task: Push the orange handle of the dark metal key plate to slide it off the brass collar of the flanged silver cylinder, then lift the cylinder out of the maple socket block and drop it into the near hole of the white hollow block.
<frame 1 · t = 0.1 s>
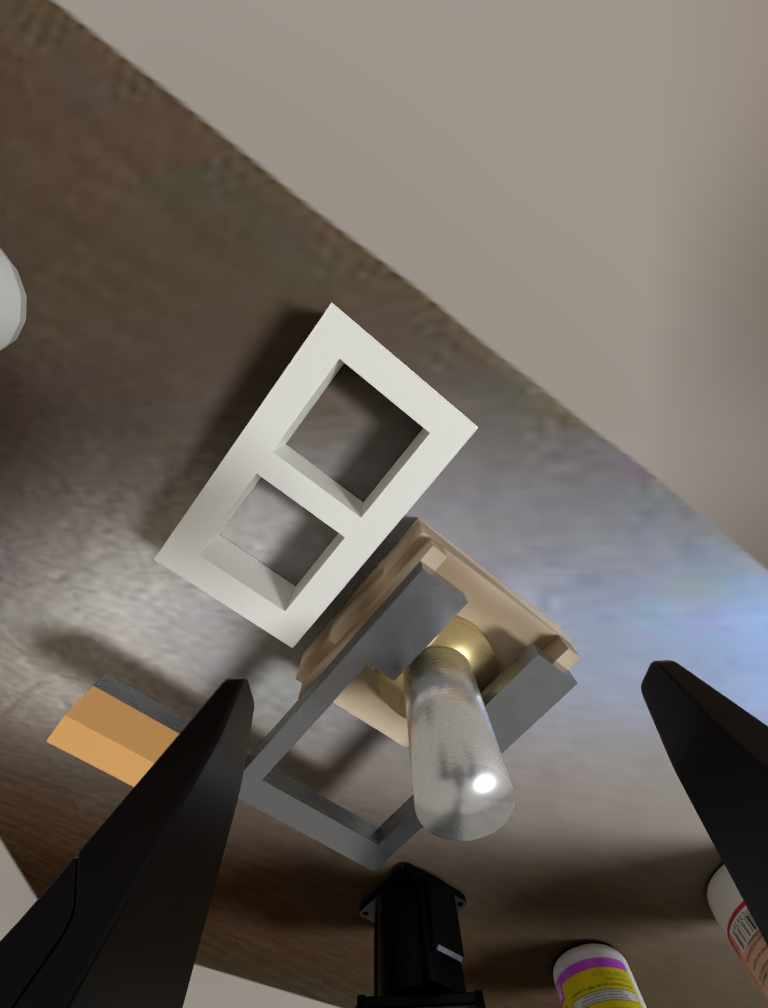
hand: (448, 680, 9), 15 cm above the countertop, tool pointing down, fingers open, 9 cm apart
socket block: (429, 638, 26), on the countertop
flanged silver cylinder: (429, 638, 26), resting in socket block
fruit juice: (756, 879, 34), on the countertop
white hollow block: (318, 483, 23), on the countertop
supplement bottle: (585, 960, 36), on the countertop
key plate: (326, 703, 21), point 5 cm above the countertop, slide at 0.0 cm
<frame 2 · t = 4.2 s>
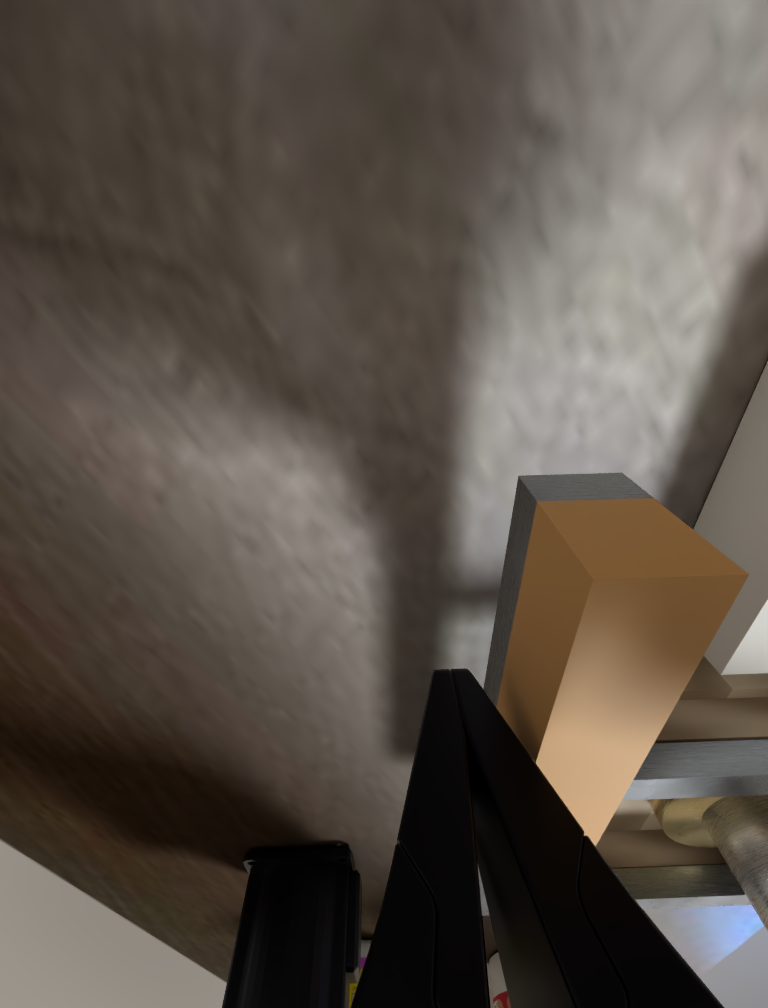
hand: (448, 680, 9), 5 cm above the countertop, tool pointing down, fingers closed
socket block: (692, 720, 19), on the countertop
flanged silver cylinder: (692, 719, 19), resting in socket block
fruit juice: (535, 951, 37), on the countertop
supplement bottle: (363, 945, 35), on the countertop
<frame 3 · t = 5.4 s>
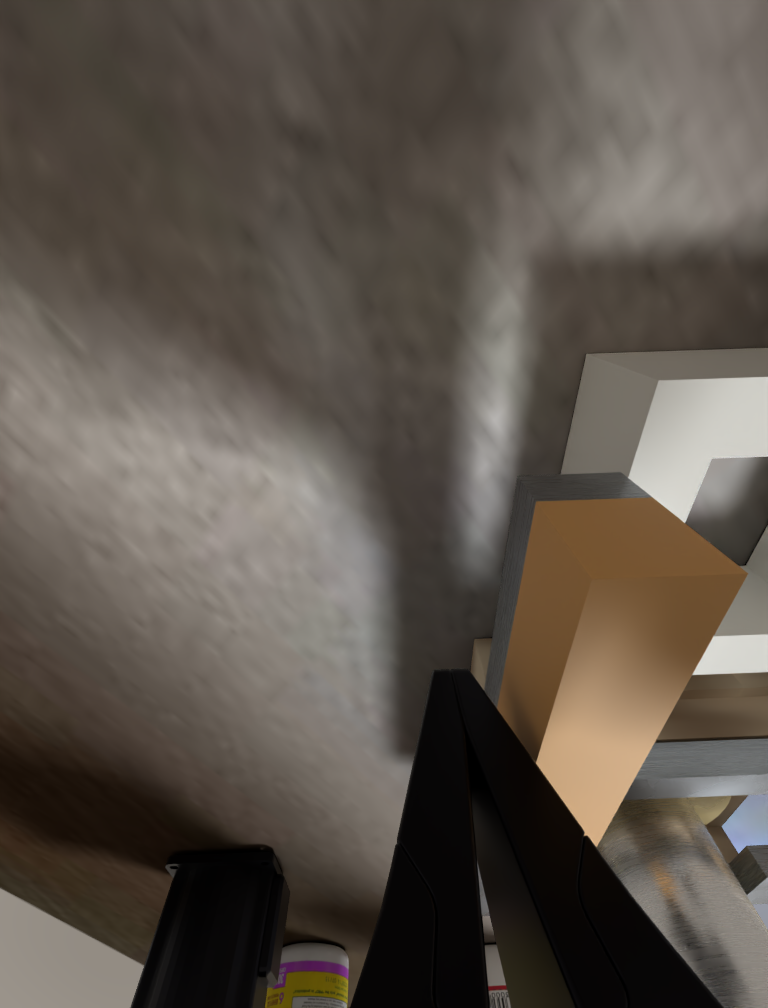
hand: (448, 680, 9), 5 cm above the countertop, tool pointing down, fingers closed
socket block: (591, 723, 19), on the countertop
flanged silver cylinder: (591, 722, 19), resting in socket block
fruit juice: (487, 954, 37), on the countertop
supplement bottle: (311, 948, 35), on the countertop
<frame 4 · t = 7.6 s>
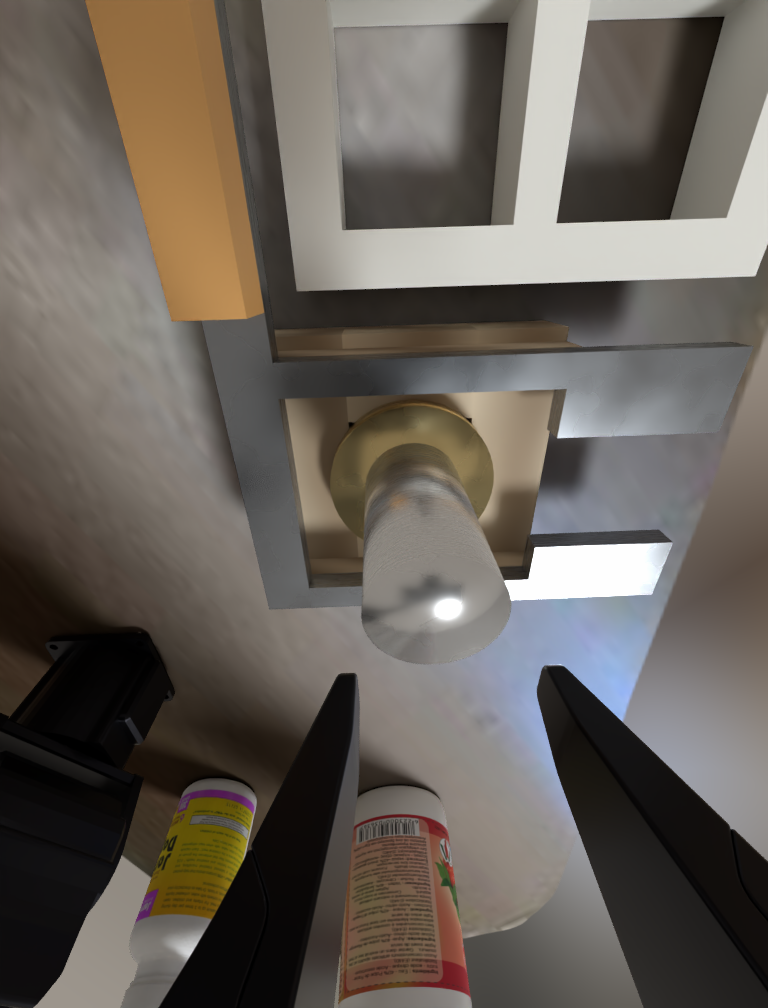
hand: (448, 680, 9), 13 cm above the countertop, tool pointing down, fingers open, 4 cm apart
socket block: (405, 454, 20), on the countertop
flanged silver cylinder: (405, 453, 20), resting in socket block
fruit juice: (395, 804, 39), on the countertop
white hollow block: (517, 137, 14), on the countertop
supplement bottle: (222, 791, 37), on the countertop
key plate: (485, 382, 13), point 5 cm above the countertop, slide at 6.2 cm
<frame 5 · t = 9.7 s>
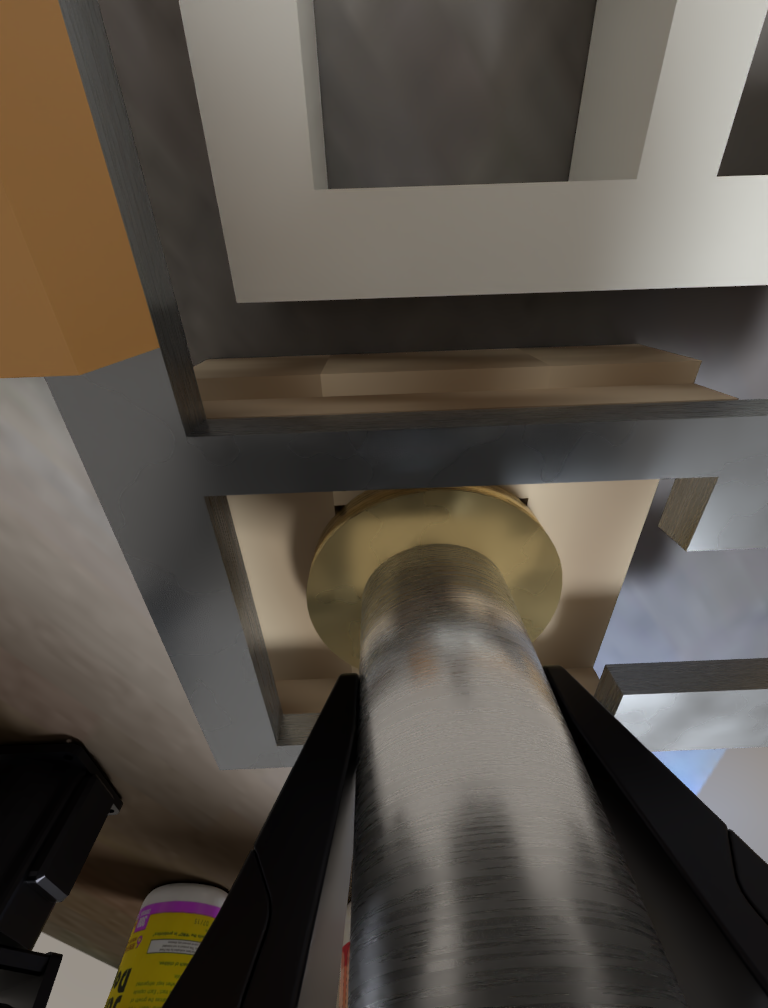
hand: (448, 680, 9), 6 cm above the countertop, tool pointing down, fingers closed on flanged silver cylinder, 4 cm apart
socket block: (420, 530, 14), on the countertop
flanged silver cylinder: (420, 529, 14), resting in socket block, touching gripper
fruit juice: (400, 902, 33), on the countertop
white hollow block: (625, 33, 8), on the countertop
supplement bottle: (193, 892, 31), on the countertop
key plate: (582, 472, 7), point 5 cm above the countertop, slide at 6.2 cm
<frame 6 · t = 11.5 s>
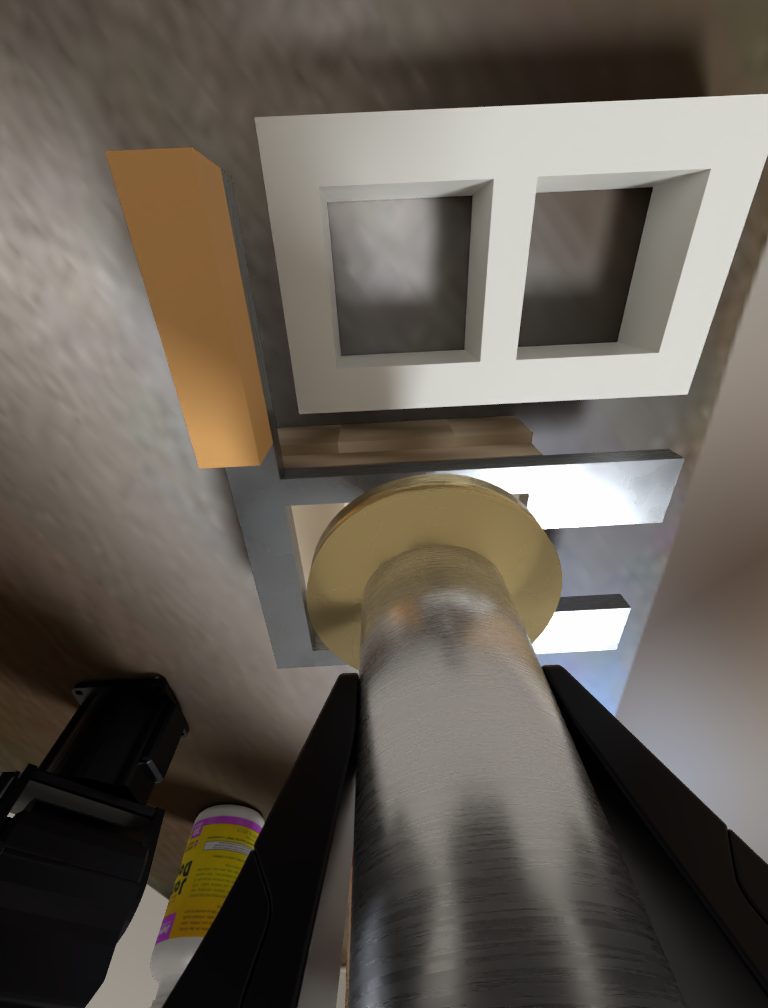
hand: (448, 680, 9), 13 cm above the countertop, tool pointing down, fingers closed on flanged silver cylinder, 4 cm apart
socket block: (397, 524, 23), on the countertop
flanged silver cylinder: (420, 530, 14), point 7 cm above the countertop, touching gripper
fruit juice: (396, 825, 41), on the countertop
white hollow block: (484, 278, 17), on the countertop
supplement bottle: (232, 815, 39), on the countertop
key plate: (459, 493, 16), point 5 cm above the countertop, slide at 6.2 cm
when the fingers open (8 cm above the countertop, at t = 13.6 s): flanged silver cylinder drops 1 cm, resting on white hollow block.
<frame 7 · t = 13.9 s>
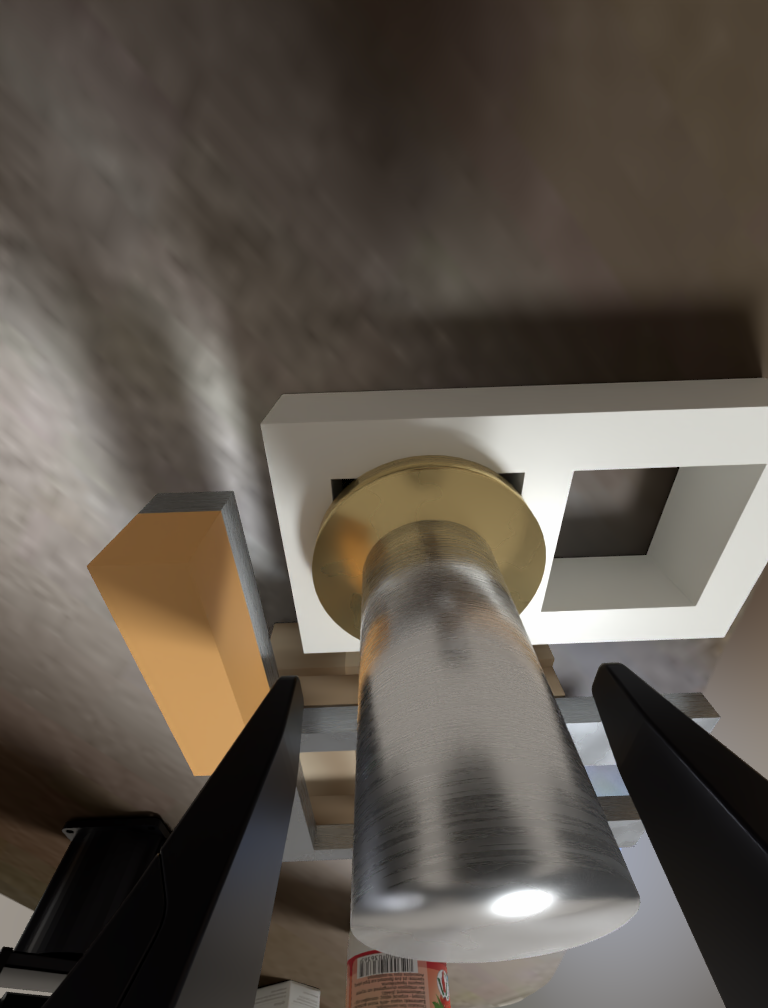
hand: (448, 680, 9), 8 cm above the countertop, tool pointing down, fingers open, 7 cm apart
socket block: (404, 698, 21), on the countertop
skincare box: (282, 986, 52), on the countertop
flanged silver cylinder: (417, 513, 15), resting on white hollow block
fruit juice: (395, 922, 40), on the countertop
white hollow block: (506, 503, 15), on the countertop
key plate: (476, 752, 14), point 5 cm above the countertop, slide at 6.2 cm
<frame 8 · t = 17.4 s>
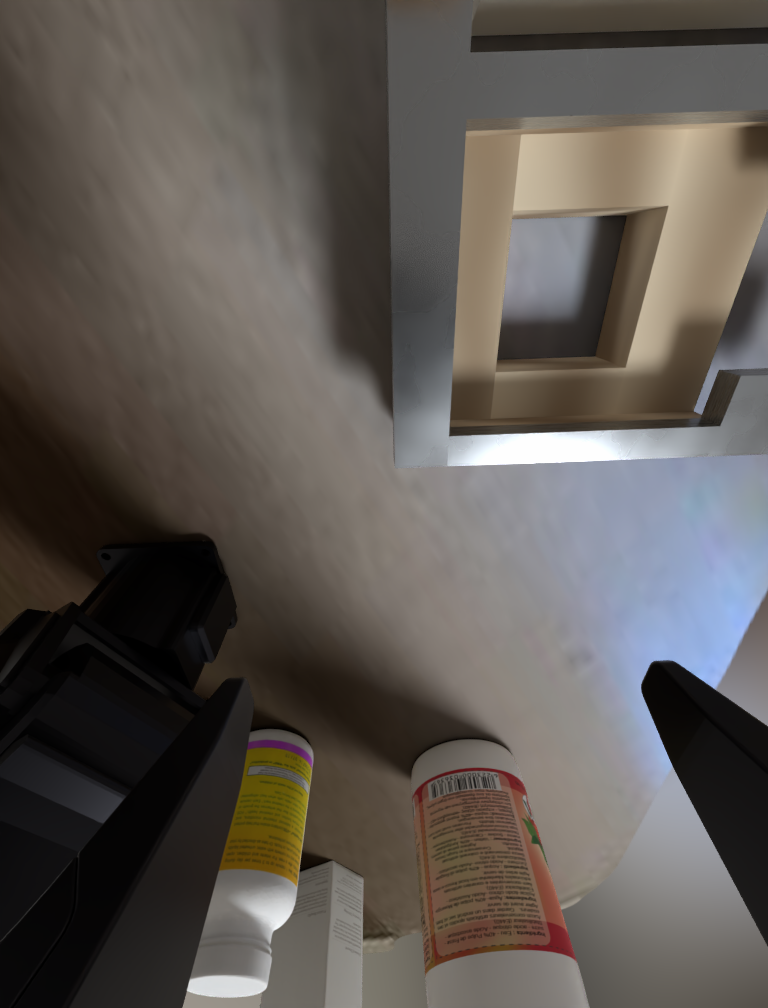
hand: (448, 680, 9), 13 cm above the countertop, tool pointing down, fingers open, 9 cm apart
socket block: (548, 293, 17), on the countertop
skincare box: (321, 873, 47), on the countertop
fruit juice: (462, 763, 35), on the countertop
supplement bottle: (274, 745, 33), on the countertop
key plate: (760, 78, 10), point 5 cm above the countertop, slide at 6.2 cm
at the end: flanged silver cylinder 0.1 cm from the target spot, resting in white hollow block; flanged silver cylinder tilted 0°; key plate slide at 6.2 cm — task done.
